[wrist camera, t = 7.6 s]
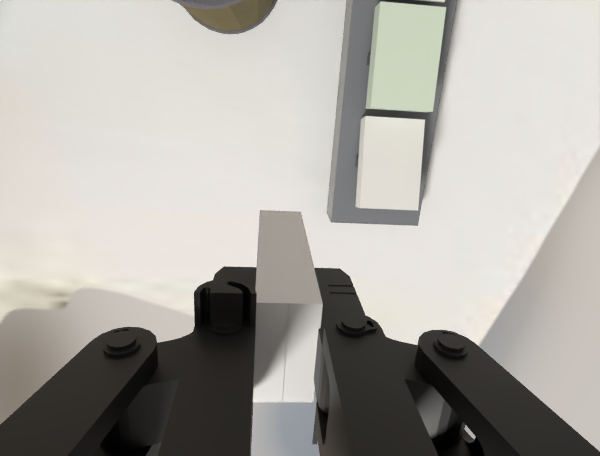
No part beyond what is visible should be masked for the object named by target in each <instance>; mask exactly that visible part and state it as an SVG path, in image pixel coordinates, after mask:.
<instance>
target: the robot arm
mask: <svg viewBox="0 0 600 456" xmlns="http://www.w3.org/2000/svg"><path fill="white" fill-rule="evenodd" d="M194 311H195V327H194V331H193V332H192V333H191V334H189V335H186V336H184V337H182V338H179V339H175V340H171V341H165V342H160V343H157V341H156V336H155V335H154V334H153V333H152V332H150V331H149V330H146V329H143V328H139V327H123V328H117V329H113V330H111V331H108V332H106V333H103V334H101V335H99V336H98V337H97V338H95V339H94V340H92V341H91V342H90V343H89V344H88V345H87V346H85V347H84V348H83V349H82V350H81V351H80V352H79V353H78V354H77V355H76V356H75V357H73V358H72V359H71V360H70V361H69V362H68V363H67V364H66V365H65V366H64V367H63V368H62V369H60V370H59V371H58V372H57V373H56V374H55V375H54V376H53V377H52V378H51V379H50V380H48V381H47V382H46V383H45V384H44V385H43V386H42V387H41V388H40V389H39V390H38V391H37V392H35V393H34V394H33V395H32V396H31V397H30V398H29V399H28V400H27V401H26V402H25V403H23V404H22V405H21V406H20V407H19V408H18V409H17V410H16V411H15V412H14V413H13V414H12V415H10V417H8V418H7V419H6V420H5V421H4V422H3V423H2V424H1V425H0V456H251V438H252V415H253V402H313V400H314V390H315V392H316V398H317V404H316V414H315V424H314V434H313V444H317V442H318V445H319V452H320V456H600V452H599V451H598V450H597V449H596V448H595V447H594V446H592V445H591V444H590V443H589V442H588V441H587V440H585V439H584V438H583V437H582V436H581V435H580V434H579V433H578V432H576V431H575V430H574V429H573V428H572V427H571V426H569V425H568V424H567V423H566V422H565V421H564V420H563V419H561V418H560V417H559V416H558V415H557V414H556V413H555V412H553V411H552V410H551V409H550V408H549V407H548V406H547V405H545V404H544V403H543V402H542V401H540V400H539V399H538V398H537V397H536V396H535V395H534V394H533V393H532V392H530V391H529V390H528V389H527V388H526V387H525V386H524V385H522V384H521V383H520V382H519V381H518V380H516V378H514V377H513V376H512V375H511V374H510V373H509V372H507V371H506V370H505V369H504V368H503V367H502V366H501V365H499V364H498V363H497V362H496V361H495V360H494V359H493V358H491V357H490V356H489V355H488V354H487V353H486V352H484V351H483V350H482V349H481V348H480V347H479V346H478V345H476V344H475V343H474V342H472V341H471V340H469V339H468V338H466V337H464V336H462V335H459V334H457V333H455V332H452V331H447V330H431V331H428V332H425V333H423V334H422V335H421V336H420V337H419V341H418V345H413V344H409V343H404V342H399V341H396V340H392V339H389V338H387V337H385V335H384V332H383V330H382V328H381V327H380V325H379V324H378V323H377V322H376V321H375V320H373V319H371V318H370V317H368V316H365V313H364V311H363V308H362V306H361V303H360V301H359V298H358V296H357V295H356V291H355V289H354V287H353V284H352V281H351V279H350V276H348V275H347V274H346V273H345V272H343V271H342V270H341V269H334V268H314V265H313V261H312V257H311V253H310V249H309V244H308V240H307V236H306V232H305V228H304V224H303V219H302V215H301V212H290V211H266V210H260V219H259V236H258V253H257V268H255V267H223V268H222V269H220V270H219V271H218V272H217V273H216V274H215V276H214V279H213V281H209V282H206V283H204V284H202V285H200V286H199V287H198V288H197V289H196V290H195V292H194ZM465 424H466V425H467V426H468V428H469V429H470V430H471V431H472V432H473V434H474V435H475V436H476V438H475V440H474V439H473V438H472V437H471V436H470V435H468V433H467V432H466V431H465V430H464V428H465Z"/></svg>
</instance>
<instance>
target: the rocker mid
mask: <svg viewBox="0 0 600 456" xmlns="http://www.w3.org/2000/svg"><path fill="white" fill-rule="evenodd" d="M445 13H446V7H438V6H427V5H415V4H404V3H393V2H382V1H381V2H380V3H379V4H378V5H377V6H376V7H375V11H374V22H373V33H372V44H371V55H370V66H369V77H368V88H367V99H366V109H381V110H397V111H412V112H433V107H434V99H435V91H436V84H437V76H438V68H439V60H440V52H441V45H442V37H443V29H444V21H445Z"/></svg>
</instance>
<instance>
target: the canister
mask: <svg viewBox="0 0 600 456" xmlns="http://www.w3.org/2000/svg"><path fill="white" fill-rule="evenodd" d="M172 1H174V2H177V3H179V4H180V5H181V6H183V7H184V8H185V9H186V10H187V12H188V13H189V14H190V15H191V16H192V17H193V18H194V19H195V20H196V21H197V22H199V23H200V24H201V25H203V26H205V27H206V28H208V29H210V30H213V31H216V32H219V33H223V34H238V33H242V32H246V31H248V30H250V29H253V28H254V27H256V26H257V25H259V24H260V23H262V22H263V21H264V20H265V18H266V17H267V16H268V15H269V14H270V12H271V11H272V9H273V8H274V6H275V4H276V1H277V0H172Z"/></svg>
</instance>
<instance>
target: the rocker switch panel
mask: <svg viewBox="0 0 600 456" xmlns="http://www.w3.org/2000/svg"><path fill="white" fill-rule="evenodd" d="M381 1H382V2H393V3H404V4H415V5H427V6H438V7H446V13H445V21H444V29H443V37H442V45H441V52H440V60H439V68H438V76H437V84H436V91H435V99H434V107H433V112H412V111H397V110H381V109H366V99H367V88H368V77H369V66H370V55H371V44H372V33H373V22H374V11H375V7H376V6H377V5H378V4H379V3H380V2H381ZM456 3H457V0H445V2H444V3H442V2H431V1H420V0H347V1H346V12H345V23H344V33H343V44H342V55H341V66H340V77H339V87H338V98H337V109H336V120H335V130H334V141H333V152H332V163H331V173H330V184H329V195H328V206H327V214H328V216H329V219H330V221H331V222H337V223H362V224H388V225H414V226H418V221H419V216H420V210H421V204H422V198H423V193H424V187H425V181H426V175H427V170H428V164H429V158H430V152H431V147H432V141H433V135H434V129H435V124H436V118H437V112H438V106H439V101H440V95H441V89H442V83H443V78H444V72H445V66H446V60H447V55H448V49H449V43H450V37H451V32H452V26H453V20H454V14H455V9H456ZM365 116H374V117H390V118H406V119H422V120H425V127H424V141H423V154H422V167H421V180H420V193H419V206H418V211H417V210H394V209H370V208H358V207H356V190H357V174H358V157H359V141H360V125H361V119H362V118H363V117H365Z"/></svg>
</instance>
